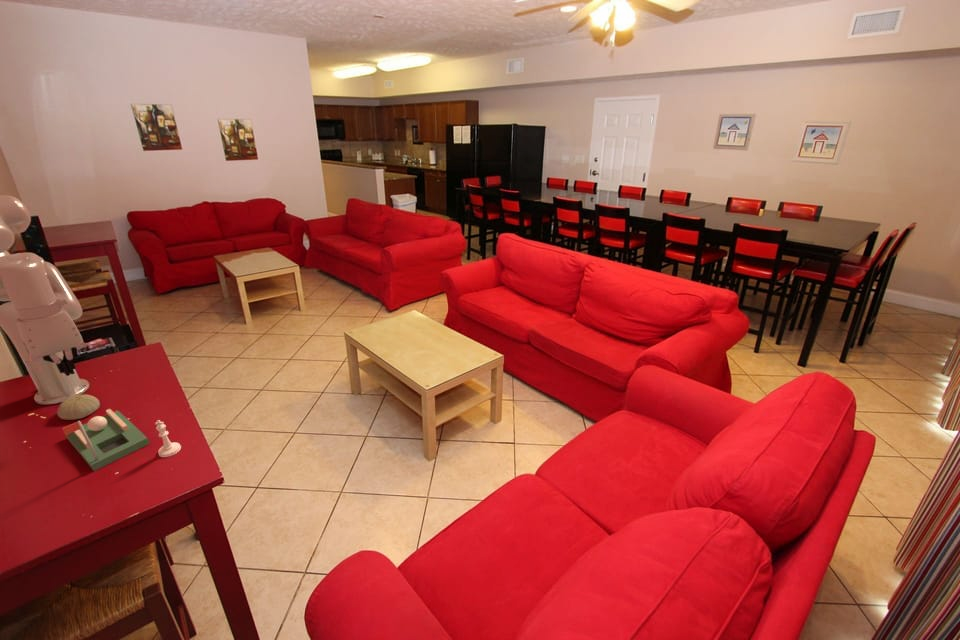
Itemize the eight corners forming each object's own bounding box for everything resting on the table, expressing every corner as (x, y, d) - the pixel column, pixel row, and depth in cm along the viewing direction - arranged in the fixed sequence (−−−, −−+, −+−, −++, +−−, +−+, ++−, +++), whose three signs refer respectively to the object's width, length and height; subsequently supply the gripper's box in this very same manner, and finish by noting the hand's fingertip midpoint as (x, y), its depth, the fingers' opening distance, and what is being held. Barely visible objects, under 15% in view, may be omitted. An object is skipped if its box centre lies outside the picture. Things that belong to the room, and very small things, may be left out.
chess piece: (175, 456, 110) (164, 426, 105) (154, 458, 109) (142, 427, 105) (184, 443, 114) (173, 413, 110) (164, 445, 113) (152, 415, 109)
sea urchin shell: (78, 419, 119) (53, 400, 117) (69, 432, 122) (45, 413, 121) (109, 400, 127) (87, 382, 125) (101, 412, 130) (79, 395, 129)
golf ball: (88, 430, 115) (82, 418, 113) (106, 422, 118) (101, 411, 116) (93, 436, 113) (87, 424, 111) (111, 428, 116) (106, 416, 114)
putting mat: (59, 441, 113) (37, 398, 107) (120, 415, 124) (103, 375, 117) (86, 474, 103) (63, 430, 97) (149, 443, 114) (132, 401, 107)
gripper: (73, 297, 111) (99, 357, 119) (-8, 316, 100) (26, 381, 108) (83, 304, 108) (109, 365, 115) (0, 324, 96) (35, 391, 104)
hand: (69, 373), depth 112 cm, fingers closed
